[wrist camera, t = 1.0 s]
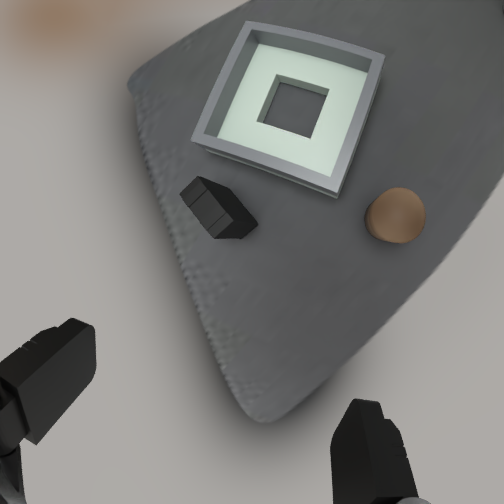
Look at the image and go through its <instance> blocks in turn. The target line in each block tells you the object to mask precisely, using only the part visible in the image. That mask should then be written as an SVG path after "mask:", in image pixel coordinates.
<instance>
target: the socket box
mask: <svg viewBox="0 0 504 504" xmlns="http://www.w3.org/2000/svg"><path fill="white" fill-rule="evenodd" d="M384 60H385V55H383V54H380V53H378V52H375V51H372V50H369V49H366V48H363V47H360V46H356V45H353V44H350V43H347V42H343V41H340V40H336V39H333V38H329V37H325V36H321V35H317V34H313V33H309V32H305V31H300V30H296V29H291V28H286V27H281V26H276V25H270V24H264V23H258V22H252V21H246V22H245V24H244V26H243V28H242V30H241V32H240V34H239V36H238V38H237V39H236V41H235V43H234V45H233V47H232V49H231V51H230V53H229V55H228V58H227V60H226V62H225V64H224V66H223V68H222V70H221V72H220V74H219V76H218V79H217V81H216V83H215V85H214V87H213V89H212V92H211V94H210V96H209V98H208V101H207V103H206V105H205V107H204V110H203V112H202V114H201V117H200V119H199V121H198V124H197V126H196V128H195V131H194V133H193V136H192V138H191V140H190V141H192V142H193V143H195V144H197V145H199V146H200V147H202V148H204V149H206V150H207V151H209V152H211V153H214V154H217V155H220V156H223V157H226V158H229V159H232V160H235V161H238V162H241V163H243V164H246V165H249V166H252V167H255V168H258V169H260V170H263V171H266V172H269V173H271V174H274V175H277V176H280V177H282V178H285V179H288V180H290V181H293V182H296V183H298V184H301V185H303V186H306V187H308V188H311V189H314V190H316V191H319V192H321V193H324V194H326V195H329V196H331V197H333V198H336V199H338V196H339V194H340V191H341V188H342V186H343V183H344V181H345V178H346V175H347V173H348V170H349V167H350V165H351V162H352V159H353V156H354V154H355V151H356V148H357V145H358V143H359V140H360V137H361V134H362V131H363V129H364V126H365V123H366V120H367V117H368V114H369V111H370V108H371V105H372V102H373V99H374V96H375V93H376V90H377V87H378V84H379V81H380V78H381V73H382V69H383V64H384ZM280 82H282V83H285V84H289V85H293V86H296V87H300V88H303V89H307V90H310V91H313V92H316V93H320V94H323V95H326V96H327V98H326V100H325V103H324V106H323V108H322V111H321V113H320V116H319V119H318V121H317V124H316V126H315V129H314V131H313V134H312V137H311V139H309V138H306V137H303V136H300V135H297V134H294V133H291V132H288V131H285V130H282V129H279V128H276V127H273V126H270V125H267V124H263V121H264V119H265V116H266V114H267V112H268V109H269V107H270V104H271V102H272V100H273V97H274V95H275V93H276V90H277V88H278V86H279V83H280Z"/></svg>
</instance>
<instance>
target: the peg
mask: <svg viewBox="0 0 504 504" xmlns="http://www.w3.org/2000/svg"><path fill="white" fill-rule="evenodd" d="M425 220H426V213H425V208H424V205H423V203H422V201H421V199H420V198H419V197H418V196H417V195H416V194H415V193H414V192H412V191H411V190H409V189H406V188H400V187H397V188H392V189H389V190H387V191H385V192H384V193H383V194H382V195H380V196H379V197H378V198H377V199H376V200H375V201H374V202H372V203H371V204H370V205H369V207H368V208H367V210H366V213H365V225H366V228H367V230H368V232H369V233H370V234H371V235H372V236H373V237H375V238H377V239H379V240H384V241H389V242H395V243H406V242H409V241H411V240H413V239H415V238H416V237H417V236H418V235H419V234H420V233H421V231H422V230H423V227H424V224H425Z"/></svg>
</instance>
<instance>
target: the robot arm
mask: <svg viewBox="0 0 504 504" xmlns="http://www.w3.org/2000/svg"><path fill="white" fill-rule="evenodd" d="M503 11H504V4H503ZM95 371H96V344H95V329H94V327H93V326H92V325H89V324H87V323H84V322H82V321H80V320H77V319H75V318H70V319H68V320H67V321H66V322H64V323H63V324H62V325H60V326H59V327H58V328H57V327H52V328H49V329H46V330H43V331H40V332H39V333H38V334H36V335H35V336H34V337H32V338H31V339H30V341H27V342H26V343H25V344H23V345H22V347H21V348H20V347H19V348H18V349H17V350H15V351H14V352H13V353H11V354H10V355H9V356H8V357H6V358H5V359H4V360H3V361H1V362H0V504H27V503H26V499H25V493H24V485H23V475H22V463H21V448H20V444H19V443H20V442H21V440H22V439H23V438H26V439H27V440H29V441H30V442H32V443H33V444H35V445H37V444H38V443H39V442H40V440H41V439H42V438H43V437H44V436H45V435H46V433H47V432H48V431H49V430H50V428H51V427H52V426H53V425H54V424H55V423H56V422H57V420H58V419H59V418H60V417H61V416H62V414H63V413H64V412H65V411H66V410H67V409H68V407H69V406H70V405H71V404H72V403H73V402H74V401H75V399H76V398H77V397H78V396H79V395H80V394H81V392H82V391H83V390H84V389H85V388H86V387H87V385H88V384H89V383H90V382H91V381H92V379H93V377H94V374H95ZM403 445H404V444H403V440H402V437H401V434H400V431H399V430H398V428H396V426H395V425H394V423H393V422H392V421H391V420H390V419H384V416H383V412H382V409H381V406H380V403H379V402H377V401H370V400H363V399H353V400H352V402H351V403H350V405H349V407H348V409H347V410H346V412H345V414H344V416H343V418H342V420H341V422H340V423H339V425H338V427H337V428H336V430H335V432H334V434H333V437H332V441H331V446H330V454H331V470H332V486H333V504H431V503H429V502H428V501H426V500H424V499H421V498H419V496H418V493H417V489H416V485H415V482H414V478H413V474H412V471H411V468H410V464H409V460H408V458H406V457H407V454H406V450H405V447H403Z"/></svg>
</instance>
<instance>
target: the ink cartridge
mask: <svg viewBox="0 0 504 504" xmlns="http://www.w3.org/2000/svg"><path fill="white" fill-rule="evenodd" d="M180 196H181V197H182V198H183V199H182V200H183V201H184V202H185V204H186V205H187V206H188V207H189V208H190V210H191V211H192V212H193V214H194V215H195V216H196V217H197V219H198V220H199V221H200V223H201V224H202V226H203V227H204V228H205V229H206V231H208V232H209V234H210V235H211V236H212V237H213V238H214V239H226V238H239V239H242V238H243V237H244V236H245V235H246V234H248V233H249V232H250V231H251V230H252V229H253V228H254V227H256V226H257V225H258V223H257V221H256V220H255V219H254V218H253V216H252V215H251V214H250V213H249V212H248V210H247V209H246V208H245V207H244V206H243V204H242V203H241V202H240V201H239V200H238V198H237V197H236V196H235V195H234V194H233V193H232V191H231V190H230V189H229V188H227V187H224V186H222V185H220V184H217V183H215V182H212V181H210V180H208V179H205V178H203V177H199V176H197V177H196V178H195V179H194V180H193V181H192V182H191V183H190V184H189V185H188V186H187V187H186V188H185V189H184V190H183V191H182V192H181V193H180Z"/></svg>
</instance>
